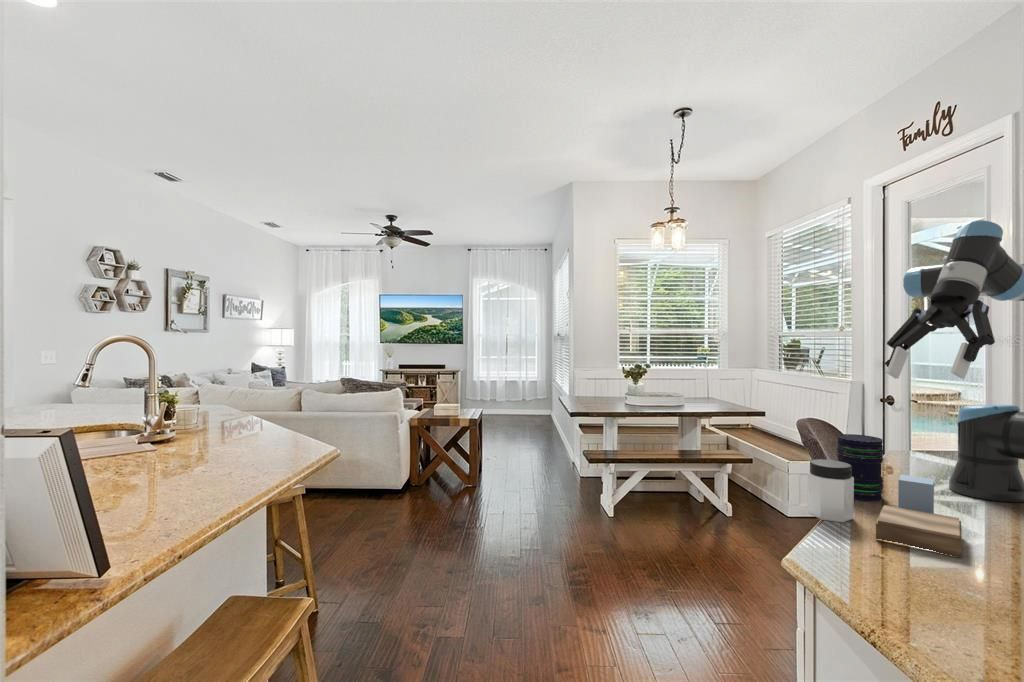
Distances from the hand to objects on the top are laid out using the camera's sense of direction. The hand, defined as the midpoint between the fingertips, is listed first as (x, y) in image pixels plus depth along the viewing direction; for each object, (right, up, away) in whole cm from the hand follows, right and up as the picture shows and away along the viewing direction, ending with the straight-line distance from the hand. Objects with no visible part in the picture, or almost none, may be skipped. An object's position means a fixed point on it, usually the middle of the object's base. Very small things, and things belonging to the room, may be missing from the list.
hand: (922, 375), depth 106 cm
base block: (-2, -33, -2) cm, 33 cm away
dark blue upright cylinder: (+5, -33, +26) cm, 42 cm away
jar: (-12, -33, +12) cm, 37 cm away
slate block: (+6, -33, +9) cm, 35 cm away
